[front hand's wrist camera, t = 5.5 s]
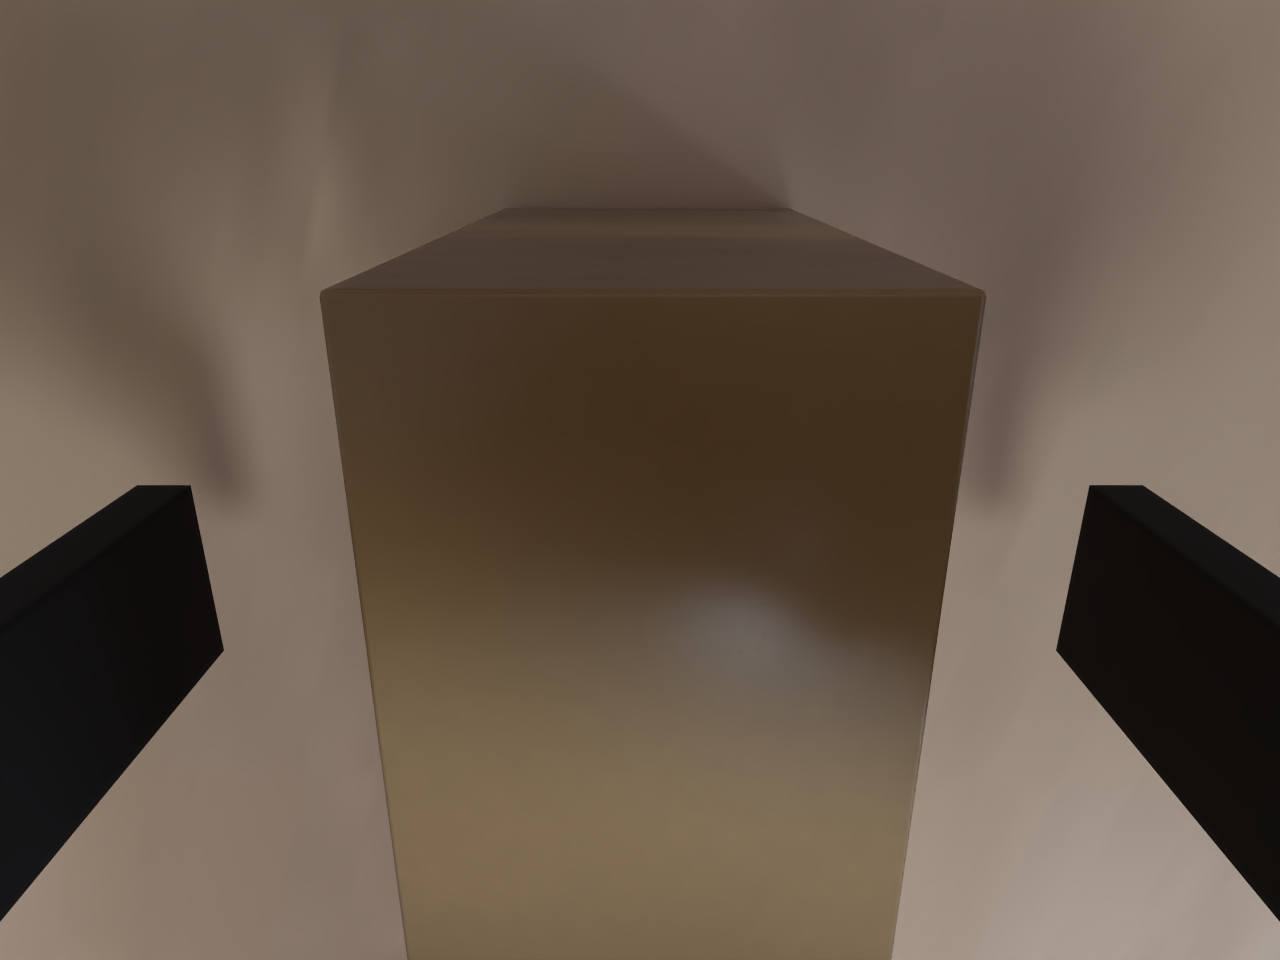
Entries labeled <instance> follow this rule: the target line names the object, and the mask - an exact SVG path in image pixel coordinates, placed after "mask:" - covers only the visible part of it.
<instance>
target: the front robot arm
mask: <svg viewBox="0 0 1280 960" xmlns="http://www.w3.org/2000/svg"><path fill="white" fill-rule="evenodd" d="M223 651H224V649H223V644H222V639H221V634H220V629H219V624H218V619H217V614H216V609H215V604H214V599H213V594H212V589H211V584H210V579H209V574H208V570H207V565H206V560H205V555H204V550H203V545H202V540H201V535H200V530H199V525H198V520H197V515H196V510H195V505H194V500H193V495H192V490H191V486H190V485H137V486H136V487H134V488H133V489H131V490H130V491H128V492H127V493H125V494H124V495H122V496H121V497H119V498H118V499H116V500H115V501H113V502H112V503H110V504H109V505H107V506H106V507H104V508H103V509H102V510H100V511H99V512H97V513H96V514H94V515H93V516H91V517H90V518H88V519H87V520H85V521H84V522H82V523H81V524H79V525H78V526H76V527H75V528H73V529H72V530H70V531H69V532H67V533H66V534H64V535H63V536H62V537H60V538H59V539H57V540H56V541H54V542H53V543H51V544H50V545H48V546H47V547H45V548H44V549H42V550H41V551H39V552H38V553H36V554H35V555H33V556H32V557H30V558H29V559H27V560H26V561H25V562H23V563H22V564H20V565H19V566H17V567H16V568H14V569H13V570H11V571H10V572H8V573H7V574H5V575H4V576H2V577H1V578H0V921H1V920H2V919H3V918H4V916H5V915H6V914H7V913H8V912H9V910H10V909H11V908H12V907H13V905H14V904H15V903H16V902H17V901H18V899H19V898H20V897H21V896H22V895H23V893H24V892H25V891H26V890H27V889H28V887H29V886H30V885H31V884H32V882H33V881H34V880H35V879H36V878H37V876H38V875H39V874H40V873H41V872H42V870H43V869H44V868H45V867H46V865H47V864H48V863H49V862H50V861H51V859H52V858H53V857H54V856H55V855H56V853H57V852H58V851H59V850H60V849H61V847H62V846H63V845H64V844H65V842H66V841H67V840H68V839H69V838H70V836H71V835H72V834H73V833H74V832H75V830H76V829H77V828H78V827H79V825H80V824H81V823H82V822H83V821H84V819H85V818H86V817H87V816H88V815H89V813H90V812H91V811H92V810H93V808H94V807H95V806H96V805H97V804H98V802H99V801H100V800H101V799H102V798H103V796H104V795H105V794H106V793H107V792H108V790H109V789H110V788H111V787H112V785H113V784H114V783H115V782H116V781H117V779H118V778H119V777H120V776H121V775H122V773H123V772H124V771H125V770H126V768H127V767H128V766H129V765H130V764H131V762H132V761H133V760H134V759H135V758H136V756H137V755H138V754H139V753H140V752H141V750H142V749H143V748H144V747H145V745H146V744H147V743H148V742H149V741H150V739H151V738H152V737H153V736H154V735H155V733H156V732H157V731H158V730H159V728H160V727H161V726H162V725H163V724H164V722H165V721H166V720H167V719H168V718H169V716H170V715H171V714H172V713H173V711H174V710H175V709H176V708H177V707H178V705H179V704H180V703H181V702H182V701H183V699H184V698H185V697H186V696H187V695H188V693H189V692H190V691H191V690H192V688H193V687H194V686H195V685H196V684H197V682H198V681H199V680H200V679H201V678H202V676H203V675H204V674H205V673H206V671H207V670H208V669H209V668H210V667H211V665H212V664H213V663H214V662H215V661H216V659H217V658H218V657H219V656H220V655H221V653H222V652H223ZM1056 651H1057V652H1058V653H1059V654H1060V656H1061V657H1062V658H1063V659H1064V661H1065V662H1066V663H1067V664H1068V665H1069V667H1070V668H1071V669H1072V670H1073V671H1074V673H1075V674H1076V675H1077V676H1078V678H1079V679H1080V680H1081V681H1082V682H1083V684H1084V685H1085V686H1086V687H1087V688H1088V690H1089V691H1090V692H1091V693H1092V694H1093V696H1094V697H1095V698H1096V699H1097V701H1098V702H1099V703H1100V704H1101V705H1102V707H1103V708H1104V709H1105V710H1106V711H1107V713H1108V714H1109V715H1110V716H1111V718H1112V719H1113V720H1114V721H1115V722H1116V724H1117V725H1118V726H1119V727H1120V728H1121V730H1122V731H1123V732H1124V733H1125V734H1126V736H1127V737H1128V738H1129V739H1130V741H1131V742H1132V743H1133V744H1134V745H1135V747H1136V748H1137V749H1138V750H1139V751H1140V753H1141V754H1142V755H1143V756H1144V758H1145V759H1146V760H1147V761H1148V762H1149V764H1150V765H1151V766H1152V767H1153V768H1154V770H1155V771H1156V772H1157V773H1158V775H1159V776H1160V777H1161V778H1162V779H1163V781H1164V782H1165V783H1166V784H1167V785H1168V787H1169V788H1170V789H1171V790H1172V791H1173V793H1174V794H1175V795H1176V796H1177V798H1178V799H1179V800H1180V801H1181V802H1182V804H1183V805H1184V806H1185V807H1186V808H1187V810H1188V811H1189V812H1190V813H1191V815H1192V816H1193V817H1194V818H1195V819H1196V821H1197V822H1198V823H1199V824H1200V825H1201V827H1202V828H1203V829H1204V830H1205V831H1206V833H1207V834H1208V835H1209V836H1210V838H1211V839H1212V840H1213V841H1214V842H1215V844H1216V845H1217V846H1218V847H1219V848H1220V850H1221V851H1222V852H1223V853H1224V855H1225V856H1226V857H1227V858H1228V859H1229V861H1230V862H1231V863H1232V864H1233V865H1234V867H1235V868H1236V869H1237V870H1238V871H1239V873H1240V874H1241V875H1242V876H1243V878H1244V879H1245V880H1246V881H1247V882H1248V884H1249V885H1250V886H1251V887H1252V888H1253V890H1254V891H1255V892H1256V893H1257V895H1258V896H1259V897H1260V898H1261V899H1262V901H1263V902H1264V903H1265V904H1266V905H1267V907H1268V908H1269V909H1270V910H1271V912H1272V913H1273V914H1274V915H1275V916H1276V918H1277V919H1278V920H1279V921H1280V578H1279V577H1278V576H1276V575H1275V574H1273V573H1272V572H1270V571H1269V570H1267V569H1266V568H1264V567H1263V566H1261V565H1260V564H1259V563H1257V562H1256V561H1254V560H1253V559H1251V558H1250V557H1248V556H1247V555H1245V554H1244V553H1242V552H1241V551H1239V550H1238V549H1236V548H1235V547H1233V546H1232V545H1230V544H1229V543H1227V542H1226V541H1224V540H1223V539H1221V538H1220V537H1219V536H1217V535H1216V534H1214V533H1213V532H1211V531H1210V530H1208V529H1207V528H1205V527H1204V526H1202V525H1201V524H1199V523H1198V522H1196V521H1195V520H1193V519H1192V518H1190V517H1189V516H1187V515H1186V514H1184V513H1183V512H1181V511H1180V510H1179V509H1177V508H1176V507H1174V506H1173V505H1171V504H1170V503H1168V502H1167V501H1165V500H1164V499H1162V498H1161V497H1159V496H1158V495H1156V494H1155V493H1153V492H1152V491H1150V490H1149V489H1147V488H1146V487H1144V486H1143V485H1090V486H1089V491H1088V496H1087V501H1086V506H1085V510H1084V515H1083V520H1082V525H1081V530H1080V535H1079V540H1078V545H1077V550H1076V555H1075V560H1074V565H1073V570H1072V575H1071V580H1070V585H1069V590H1068V594H1067V599H1066V604H1065V609H1064V614H1063V619H1062V624H1061V629H1060V634H1059V639H1058V644H1057V649H1056Z"/></svg>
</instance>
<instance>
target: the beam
mask: <svg viewBox="0 0 1280 960" xmlns="http://www.w3.org/2000/svg"><path fill="white" fill-rule="evenodd" d="M985 300H986V295H985V291H983V290H980V289H978V288H976V287H973V286H971V285H969V284H966V283H964V282H962V281H959V280H957V279H954V278H952V277H950V276H947V275H945V274H943V273H940V272H938V271H936V270H933V269H931V268H928V267H926V266H924V265H921V264H919V263H917V262H914V261H912V260H910V259H907V258H905V257H902V256H900V255H898V254H895V253H893V252H891V251H888V250H886V249H884V248H881V247H879V246H877V245H874V244H872V243H869V242H867V241H865V240H862V239H860V238H858V237H855V236H853V235H851V234H848V233H846V232H843V231H841V230H839V229H836V228H834V227H832V226H829V225H827V224H825V223H822V222H820V221H818V220H815V219H813V218H810V217H808V216H806V215H803V214H801V213H799V212H796V211H794V210H792V209H504V210H502V211H499V212H497V213H495V214H493V215H490V216H488V217H486V218H484V219H481V220H479V221H477V222H475V223H472V224H470V225H468V226H466V227H463V228H461V229H459V230H457V231H454V232H452V233H450V234H448V235H446V236H443V237H441V238H439V239H437V240H434V241H432V242H430V243H428V244H425V245H423V246H421V247H419V248H416V249H414V250H412V251H410V252H407V253H405V254H403V255H401V256H398V257H396V258H394V259H392V260H390V261H387V262H385V263H383V264H381V265H378V266H376V267H374V268H372V269H369V270H367V271H365V272H363V273H360V274H358V275H356V276H354V277H351V278H349V279H347V280H345V281H342V282H340V283H338V284H336V285H333V286H331V287H329V288H327V289H325V290H322V291H321V294H320V302H321V310H322V317H323V325H324V332H325V340H326V348H327V355H328V363H329V370H330V378H331V385H332V393H333V400H334V408H335V415H336V423H337V431H338V438H339V446H340V453H341V461H342V468H343V476H344V483H345V491H346V499H347V506H348V514H349V521H350V529H351V536H352V544H353V551H354V559H355V566H356V574H357V582H358V589H359V597H360V604H361V612H362V619H363V627H364V634H365V642H366V649H367V657H368V665H369V672H370V680H371V687H372V695H373V702H374V710H375V717H376V725H377V733H378V740H379V748H380V755H381V763H382V770H383V778H384V785H385V793H386V800H387V808H388V816H389V823H390V831H391V838H392V846H393V853H394V861H395V868H396V876H397V883H398V891H399V899H400V906H401V914H402V921H403V929H404V936H405V944H406V951H407V959H408V960H891V957H892V950H893V943H894V936H895V929H896V922H897V916H898V909H899V902H900V895H901V888H902V881H903V874H904V867H905V860H906V853H907V846H908V839H909V832H910V825H911V818H912V811H913V804H914V797H915V790H916V783H917V776H918V769H919V762H920V755H921V748H922V741H923V734H924V727H925V720H926V713H927V706H928V699H929V692H930V685H931V678H932V671H933V664H934V657H935V650H936V643H937V636H938V629H939V622H940V615H941V608H942V601H943V594H944V587H945V580H946V573H947V566H948V559H949V552H950V545H951V538H952V531H953V524H954V517H955V510H956V503H957V496H958V489H959V482H960V475H961V468H962V461H963V454H964V447H965V440H966V433H967V426H968V419H969V412H970V405H971V398H972V391H973V384H974V377H975V370H976V363H977V356H978V349H979V342H980V335H981V328H982V321H983V314H984V307H985Z"/></svg>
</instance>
